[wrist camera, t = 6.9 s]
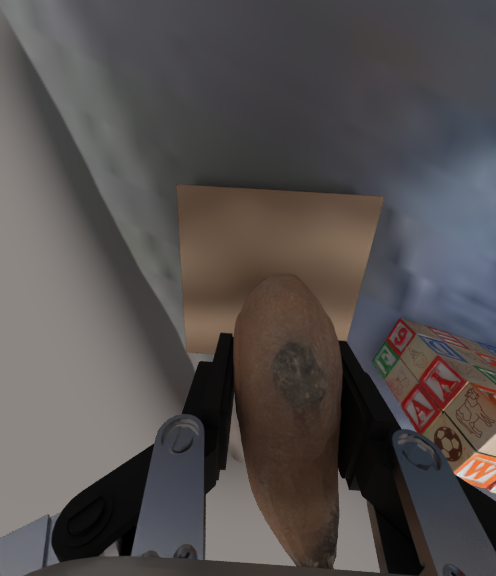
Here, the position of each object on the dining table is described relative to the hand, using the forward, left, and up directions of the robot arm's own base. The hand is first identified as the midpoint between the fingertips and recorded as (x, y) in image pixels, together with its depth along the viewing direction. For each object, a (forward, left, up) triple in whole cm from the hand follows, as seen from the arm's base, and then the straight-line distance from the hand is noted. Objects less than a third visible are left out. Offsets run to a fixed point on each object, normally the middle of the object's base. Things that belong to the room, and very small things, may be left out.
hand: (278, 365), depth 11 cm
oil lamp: (0, 0, -2) cm, 2 cm away
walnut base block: (0, 0, -14) cm, 14 cm away
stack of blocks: (+10, +24, -14) cm, 30 cm away
